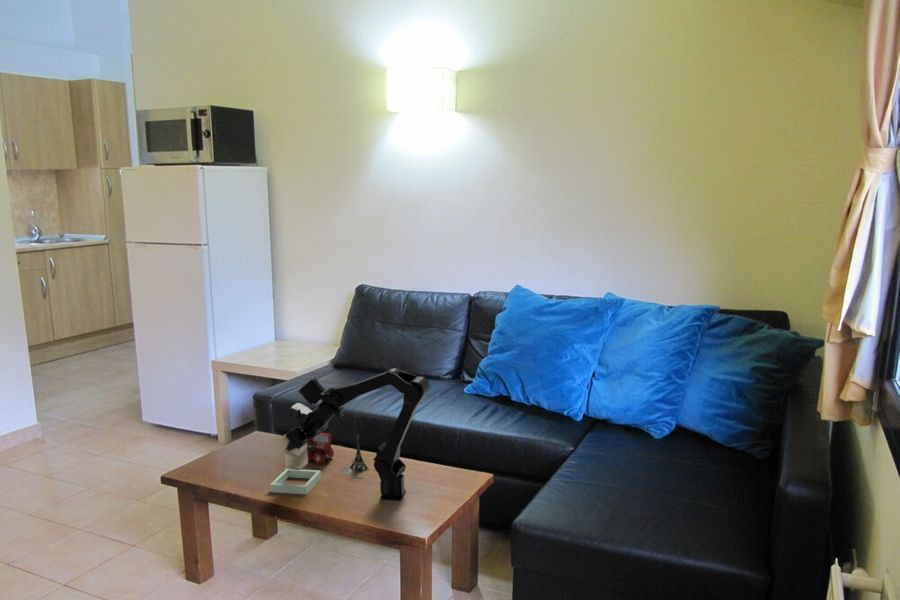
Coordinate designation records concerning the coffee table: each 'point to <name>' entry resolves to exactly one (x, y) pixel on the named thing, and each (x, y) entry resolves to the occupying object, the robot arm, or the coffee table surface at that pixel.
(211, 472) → the coffee table surface
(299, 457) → the maple block
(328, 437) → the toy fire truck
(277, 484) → the frame
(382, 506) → the coffee table surface
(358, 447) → the eiffel tower figurine
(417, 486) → the coffee table surface
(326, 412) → the robot arm
